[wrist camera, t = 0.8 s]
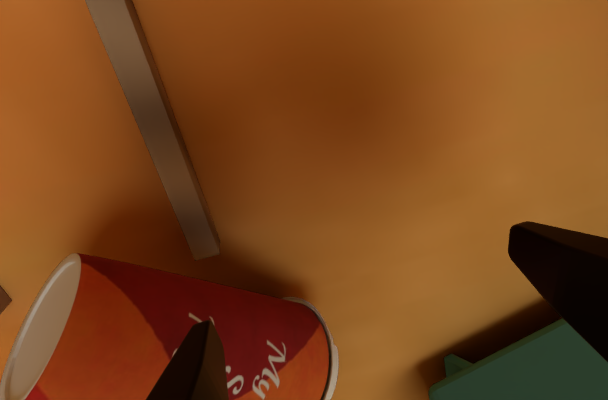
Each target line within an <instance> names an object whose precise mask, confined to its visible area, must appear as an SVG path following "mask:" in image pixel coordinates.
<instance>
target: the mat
mask: <svg viewBox="0 0 608 400" xmlns="http://www.w3.org/2000/svg"><path fill="white" fill-rule="evenodd" d="M11 301H12V300H11V299H10V298H9V297H8V295H7V294H6V293H5V292H4V290H3V289H2V288H1V287H0V314H1V313H2V312H3V310H4V309H5V308H6V307H7V306H8V304H9V303H10V302H11Z"/></svg>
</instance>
